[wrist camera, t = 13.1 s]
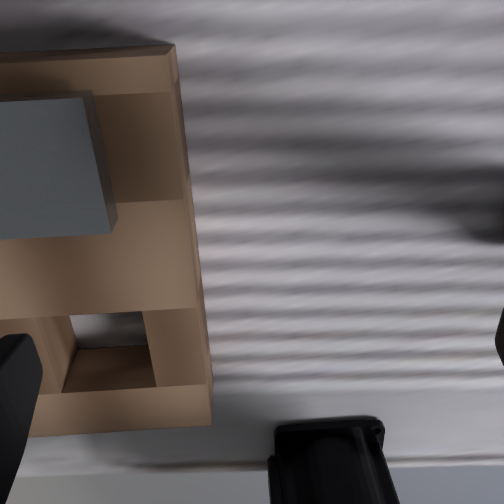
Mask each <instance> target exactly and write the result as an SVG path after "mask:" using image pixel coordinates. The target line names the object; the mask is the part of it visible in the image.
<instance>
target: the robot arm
mask: <svg viewBox="0 0 504 504" xmlns="http://www.w3.org/2000/svg"><path fill="white" fill-rule="evenodd" d="M495 346H496V349H497V352H498V354H499V357H500V359H501V361H502V363H503V366H504V308H503V311H502V314H501V317H500V321H499V325H498V328H497V332H496V335H495ZM42 377H43V367H42V363H41V360H40V358H39V355H38V352H37V349H36V346H35V343H34V341H33V338H32V337H31V335H29V334H27V333H19V334H7V335H5V336H3V337H1V338H0V504H5V503H6V501H7V498H8V495H9V493H10V490H11V487H12V484H13V482H14V479H15V476H16V473H17V471H18V468H19V465H20V462H21V459H22V456H23V453H24V450H25V446H26V443H27V439H28V435H29V431H30V427H31V423H32V419H33V415H34V410H35V406H36V402H37V398H38V394H39V390H40V386H41V382H42ZM282 434H283V435H282ZM384 435H385V428H384V425H383V423H382V421H380V420H365V421H349V422H334V423H319V424H304V425H288V426H279V427H277V428H276V429H275V430H274V453H275V455H271V456H270V457H269V458H268V459H267V461H268V485H269V497H270V504H400V502H399V500H398V496H397V493H396V490H395V487H394V484H393V481H392V479H391V475H390V472H389V469H388V466H387V463H386V460H385V457H384V454H383V451H382V448H383V441H384Z"/></svg>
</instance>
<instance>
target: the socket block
mask: <svg viewBox="0 0 504 504" xmlns="http://www.w3.org/2000/svg"><path fill="white" fill-rule="evenodd" d="M77 90H93V94H94V99H95V104H96V109H97V114H98V119H99V124H100V129H101V134H102V139H103V144H104V149H105V154H106V159H107V164H108V169H109V173H110V178H111V183H112V188H113V193H114V198H115V203H116V208H117V213H118V220H117V222H116V224H115V227H114V229H113V231H112V233H111V234H95V235H77V236H60V237H43V238H25V239H8V240H0V338H1V337H3V336H5V335H7V334H19V333H27V334H29V335H31V337H32V338H33V341H34V343H35V346H36V349H37V352H38V355H39V358H40V360H41V363H42V367H43V377H42V382H41V386H40V390H39V394H38V398H37V402H36V406H35V410H34V415H33V419H32V423H31V427H30V431H29V435H28V437H42V436H57V435H72V434H88V433H103V432H118V431H133V430H149V429H164V428H179V427H194V426H210V425H212V399H213V375H212V366H211V358H210V349H209V340H208V331H207V322H206V313H205V304H204V296H203V287H202V278H201V269H200V260H199V251H198V243H197V234H196V225H195V216H194V207H193V198H192V190H191V181H190V172H189V163H188V154H187V145H186V137H185V128H184V119H183V110H182V101H181V92H180V83H179V75H178V66H177V57H176V48H175V44H172V45H152V46H132V47H113V48H93V49H73V50H53V51H33V52H13V53H0V94H19V93H38V92H57V91H77ZM133 311H142V315H143V320H144V325H145V330H146V335H147V340H148V345H143V346H127V347H111V348H94V349H79V348H78V345H77V341H76V338H75V334H74V331H73V328H72V324H71V321H70V317H69V315H83V314H100V313H116V312H133Z"/></svg>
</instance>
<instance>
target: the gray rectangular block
mask: <svg viewBox="0 0 504 504" xmlns="http://www.w3.org/2000/svg"><path fill="white" fill-rule="evenodd" d="M117 220H118V213H117V208H116V203H115V198H114V193H113V188H112V183H111V178H110V173H109V169H108V164H107V159H106V154H105V149H104V144H103V139H102V134H101V129H100V124H99V119H98V114H97V109H96V104H95V99H94V94H93V90H77V91H57V92H38V93H19V94H0V240H8V239H25V238H43V237H60V236H77V235H95V234H111V233H112V231H113V229H114V227H115V224H116V222H117Z"/></svg>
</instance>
